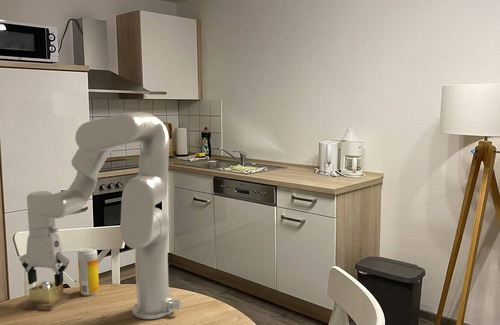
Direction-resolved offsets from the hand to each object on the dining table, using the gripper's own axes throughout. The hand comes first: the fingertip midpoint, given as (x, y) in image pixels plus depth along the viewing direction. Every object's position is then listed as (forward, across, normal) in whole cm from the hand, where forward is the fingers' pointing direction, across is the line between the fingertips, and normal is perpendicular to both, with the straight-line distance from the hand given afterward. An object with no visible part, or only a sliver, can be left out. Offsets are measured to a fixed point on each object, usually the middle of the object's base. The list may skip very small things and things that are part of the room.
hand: (45, 283), depth 150 cm
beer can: (+6, -9, -10) cm, 15 cm away
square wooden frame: (+5, 0, 0) cm, 5 cm away
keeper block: (+6, 0, 0) cm, 6 cm away
